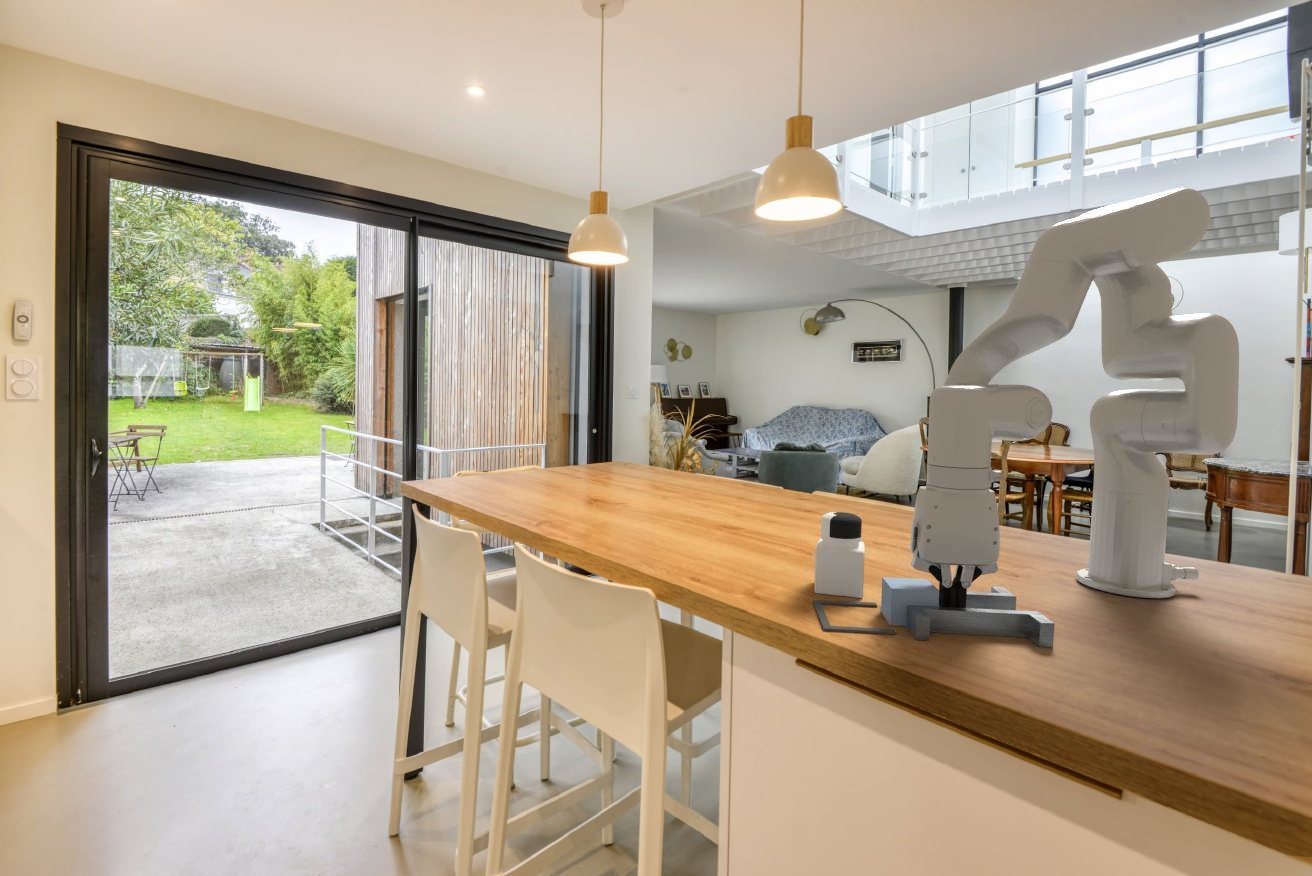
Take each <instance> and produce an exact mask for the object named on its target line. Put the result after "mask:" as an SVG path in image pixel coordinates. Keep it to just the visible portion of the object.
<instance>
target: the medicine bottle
mask: <svg viewBox="0 0 1312 876" xmlns="http://www.w3.org/2000/svg"><path fill="white" fill-rule="evenodd" d="M820 521H821V522H820V538H819V539H818V541H817V543H816V547H815V550H814V551H815V553H814V554H815V556H814V559H815V561H814V592H815V594H819V595H820V594H821V595H830V596H839V597H847V598H857V599H862V598H863V597H864V588H865V587H864V586H865V585H864V584H865V581H864V580H865V557H866V556H865V555H866V553H865V552H866V551H865V544H866V543H865V542H864V541H862V529H863V527H862V526H863V525H862V523H863V521H862V518H861V517H860V516H858V515H857V514H855V513H850V512H844V511H843V512H842V511H833V512H830V511H829V512H827V513H825V514H823V515H822V516H821V520H820Z"/></svg>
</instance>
